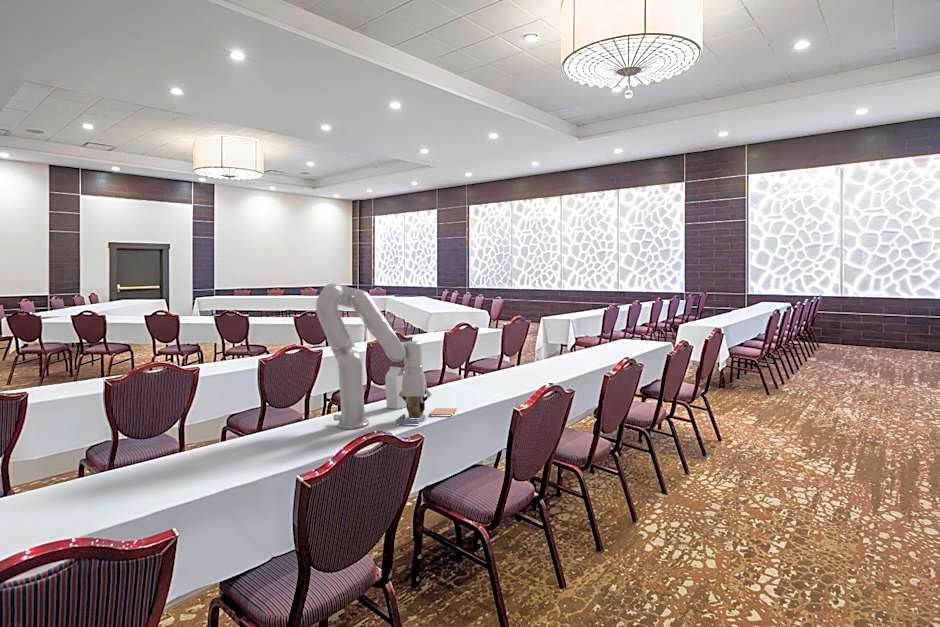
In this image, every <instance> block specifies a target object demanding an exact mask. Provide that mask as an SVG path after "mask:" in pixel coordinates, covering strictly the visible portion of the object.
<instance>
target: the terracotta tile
mask: <svg viewBox="0 0 940 627" xmlns="http://www.w3.org/2000/svg"><path fill="white" fill-rule="evenodd" d="M456 410H457V411H458V408H451V407H450V408H446V407H444V408H443V407H435V408H434V409H433V410H432V411H430V412H429V413H428V416H429V415H451V414H452V413H454V412H455V411H456ZM457 411H456V412H457ZM456 412H455V413H456ZM455 413H454V414H455Z"/></svg>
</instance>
